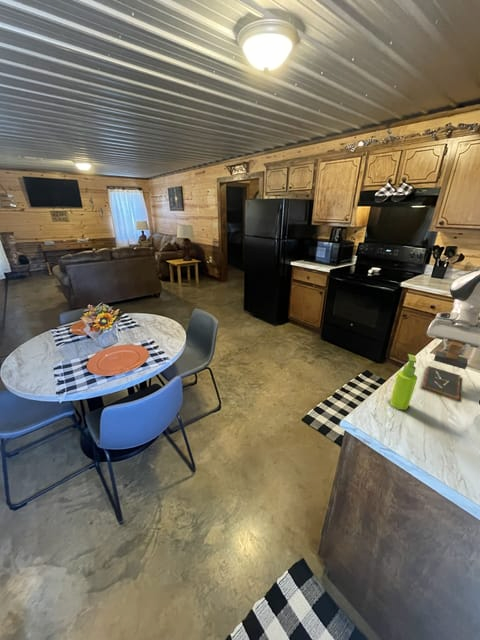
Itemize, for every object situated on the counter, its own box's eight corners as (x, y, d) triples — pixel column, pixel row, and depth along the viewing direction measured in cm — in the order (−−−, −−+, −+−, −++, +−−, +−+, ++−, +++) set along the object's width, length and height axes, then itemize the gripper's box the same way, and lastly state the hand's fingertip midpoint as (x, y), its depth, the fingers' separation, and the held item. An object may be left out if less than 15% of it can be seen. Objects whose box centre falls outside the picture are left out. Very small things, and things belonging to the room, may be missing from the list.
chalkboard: (427, 367, 122) (427, 365, 122) (459, 377, 115) (460, 375, 115) (421, 388, 108) (422, 386, 107) (458, 400, 101) (459, 398, 100)
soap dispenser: (406, 400, 101) (420, 355, 93) (408, 411, 95) (424, 364, 87) (389, 395, 103) (401, 351, 95) (390, 406, 97) (403, 360, 89)
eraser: (465, 364, 103) (473, 345, 100) (465, 369, 100) (473, 350, 96) (434, 355, 109) (441, 337, 106) (433, 360, 105) (440, 341, 102)
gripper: (494, 332, 102) (485, 364, 99) (431, 318, 114) (422, 347, 110) (499, 325, 97) (491, 358, 94) (433, 312, 109) (423, 341, 105)
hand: (453, 352), depth 102 cm, fingers closed on eraser, 3 cm apart
